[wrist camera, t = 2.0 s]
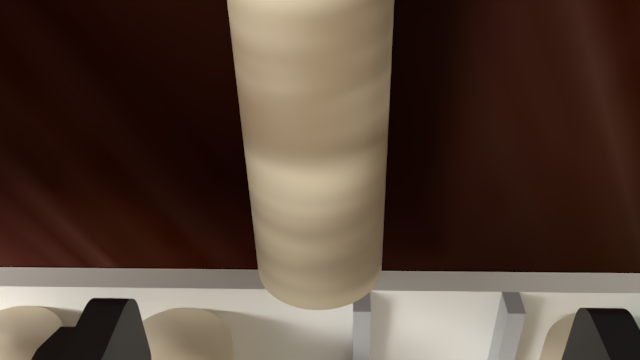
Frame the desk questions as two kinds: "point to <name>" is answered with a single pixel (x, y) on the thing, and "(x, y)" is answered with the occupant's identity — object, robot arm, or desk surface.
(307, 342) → the roller bed
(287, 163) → the roller
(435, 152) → the desk surface
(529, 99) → the desk surface
